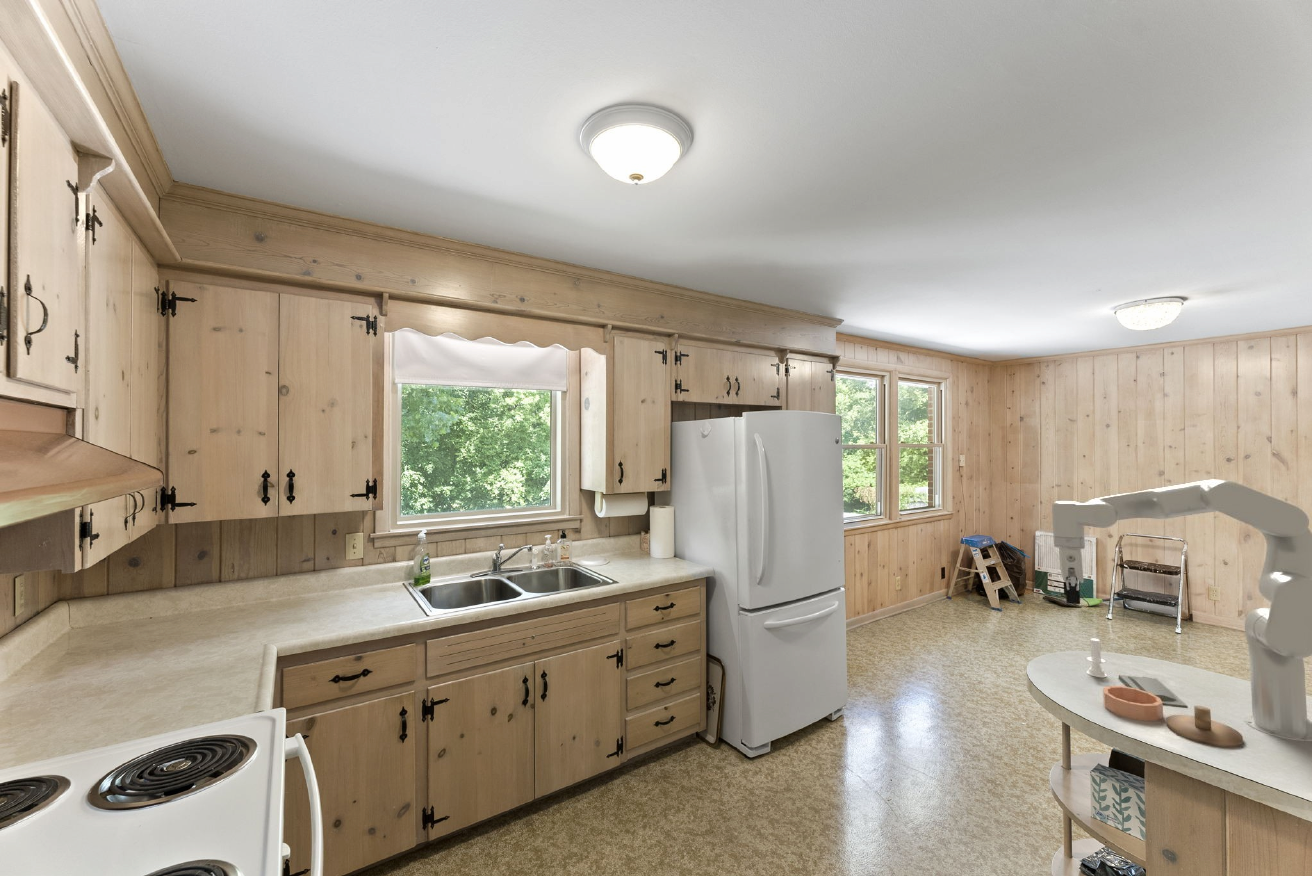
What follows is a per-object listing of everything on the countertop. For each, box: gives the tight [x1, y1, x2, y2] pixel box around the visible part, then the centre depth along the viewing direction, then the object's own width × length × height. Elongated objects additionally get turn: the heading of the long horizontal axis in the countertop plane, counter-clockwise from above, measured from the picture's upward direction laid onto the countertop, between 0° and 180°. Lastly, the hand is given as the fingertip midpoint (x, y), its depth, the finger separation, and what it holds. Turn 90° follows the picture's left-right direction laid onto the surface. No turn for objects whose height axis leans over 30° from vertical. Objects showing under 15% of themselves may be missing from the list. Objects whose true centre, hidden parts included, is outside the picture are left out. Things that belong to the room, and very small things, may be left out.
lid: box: [1165, 705, 1244, 748], centre depth 142 cm, size 14×14×6 cm
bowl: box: [1102, 685, 1164, 722], centre depth 155 cm, size 12×12×5 cm
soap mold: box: [1118, 674, 1189, 708], centre depth 166 cm, size 10×20×4 cm, turn 157°
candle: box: [1086, 637, 1108, 678], centre depth 181 cm, size 5×5×12 cm
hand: (1071, 599), depth 165 cm, fingers open, 9 cm apart
